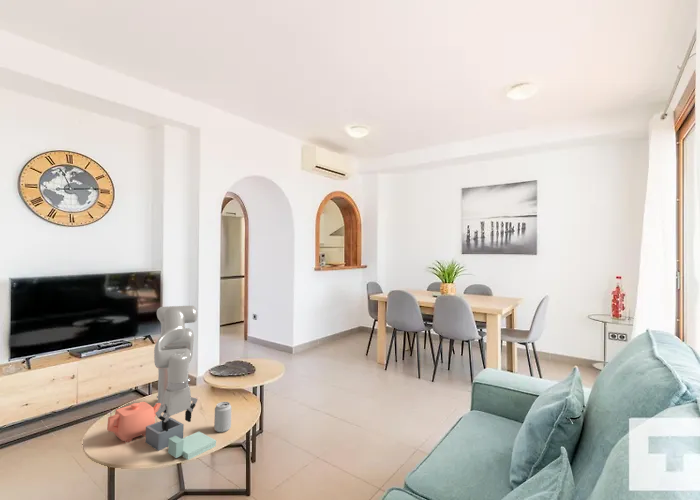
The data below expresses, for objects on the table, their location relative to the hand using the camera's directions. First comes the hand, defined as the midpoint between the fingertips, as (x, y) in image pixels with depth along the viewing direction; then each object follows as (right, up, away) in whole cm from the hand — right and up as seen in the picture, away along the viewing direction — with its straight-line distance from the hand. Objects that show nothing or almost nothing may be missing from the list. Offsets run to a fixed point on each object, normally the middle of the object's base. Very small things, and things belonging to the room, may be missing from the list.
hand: (176, 425), depth 147 cm
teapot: (-27, -12, +15) cm, 33 cm away
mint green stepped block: (+4, -12, +5) cm, 14 cm away
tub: (-11, -12, +10) cm, 19 cm away
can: (+11, -13, +22) cm, 28 cm away
